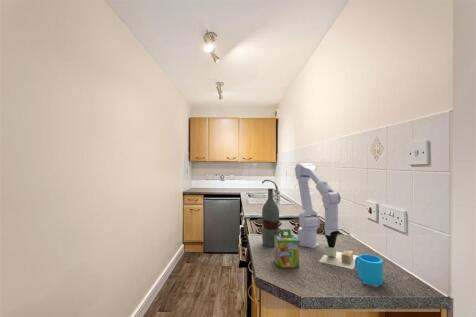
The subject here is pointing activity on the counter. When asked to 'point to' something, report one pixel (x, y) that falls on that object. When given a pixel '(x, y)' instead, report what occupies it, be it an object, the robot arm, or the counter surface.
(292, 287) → the counter surface
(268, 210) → the bottle
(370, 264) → the mug
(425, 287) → the counter surface
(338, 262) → the mat
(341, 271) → the counter surface
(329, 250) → the sage block
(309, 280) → the counter surface
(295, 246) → the chalk box
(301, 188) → the robot arm
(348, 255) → the oak block
